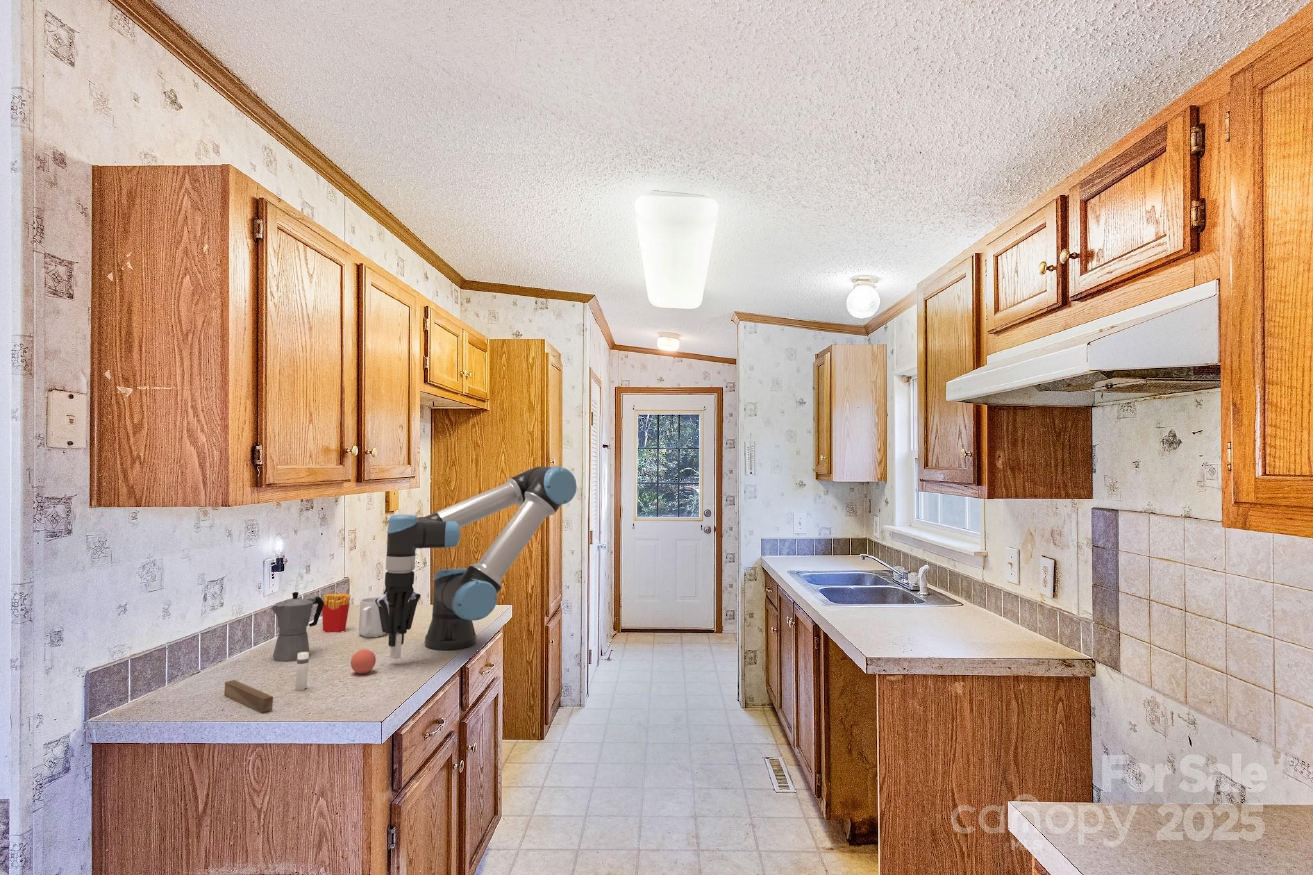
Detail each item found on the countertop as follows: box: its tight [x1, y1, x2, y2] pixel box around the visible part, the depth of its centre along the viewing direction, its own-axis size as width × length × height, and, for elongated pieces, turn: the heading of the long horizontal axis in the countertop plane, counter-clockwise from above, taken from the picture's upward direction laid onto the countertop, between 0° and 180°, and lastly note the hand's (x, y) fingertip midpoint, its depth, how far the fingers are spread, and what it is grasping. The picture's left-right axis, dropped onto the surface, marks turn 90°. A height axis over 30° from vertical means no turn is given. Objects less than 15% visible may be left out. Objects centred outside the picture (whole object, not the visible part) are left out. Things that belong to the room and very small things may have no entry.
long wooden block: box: [223, 679, 274, 714], centre depth 146 cm, size 2×18×3 cm, turn 56°
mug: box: [358, 596, 389, 638], centre depth 206 cm, size 12×9×11 cm
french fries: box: [321, 592, 351, 633], centre depth 211 cm, size 8×4×12 cm, turn 93°
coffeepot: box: [270, 591, 324, 662], centre depth 183 cm, size 15×9×18 cm, turn 151°
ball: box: [350, 648, 377, 675], centre depth 169 cm, size 6×6×6 cm
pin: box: [295, 651, 310, 691], centre depth 156 cm, size 2×2×8 cm
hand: (395, 657), depth 177 cm, fingers closed
